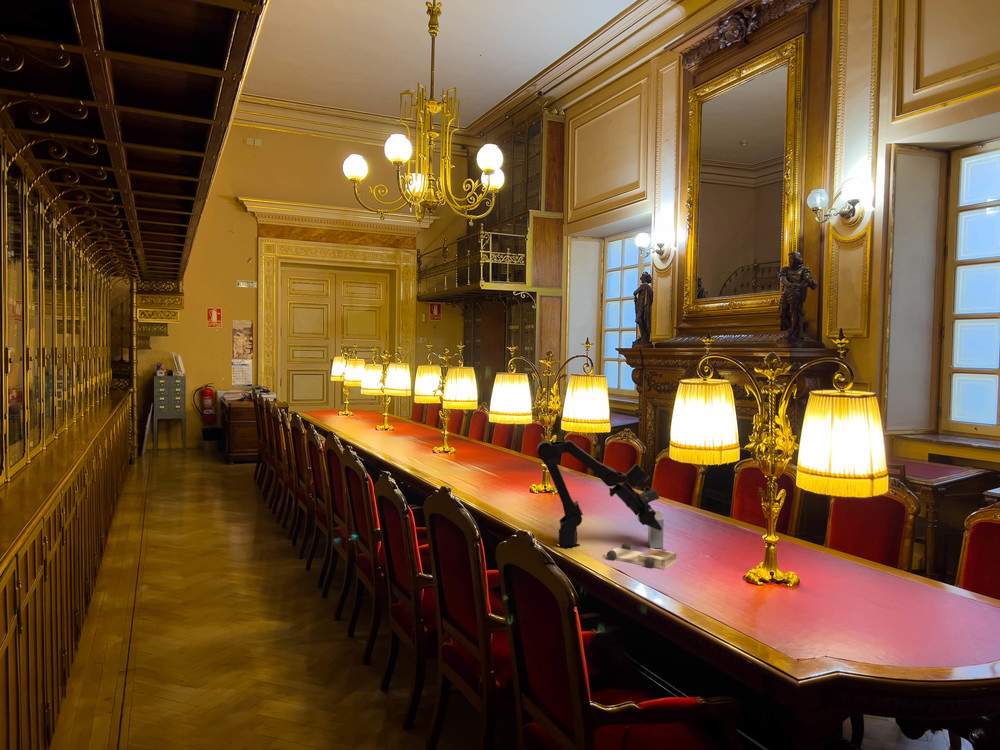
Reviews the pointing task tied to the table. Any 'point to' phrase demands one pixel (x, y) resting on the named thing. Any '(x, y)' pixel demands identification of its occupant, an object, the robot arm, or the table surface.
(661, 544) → the grey rectangular block
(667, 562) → the chassis
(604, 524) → the table surface
